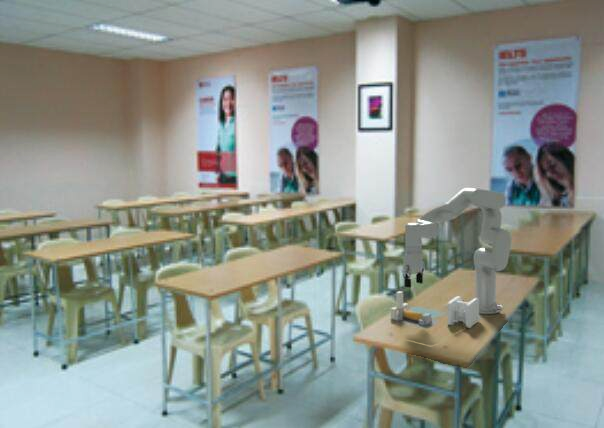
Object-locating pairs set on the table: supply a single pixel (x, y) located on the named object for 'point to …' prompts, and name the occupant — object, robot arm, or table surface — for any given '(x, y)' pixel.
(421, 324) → the board
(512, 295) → the table surface
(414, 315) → the grey orange bar
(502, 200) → the robot arm
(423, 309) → the mat
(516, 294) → the table surface
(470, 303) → the cable organizer
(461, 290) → the table surface
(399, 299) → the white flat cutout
